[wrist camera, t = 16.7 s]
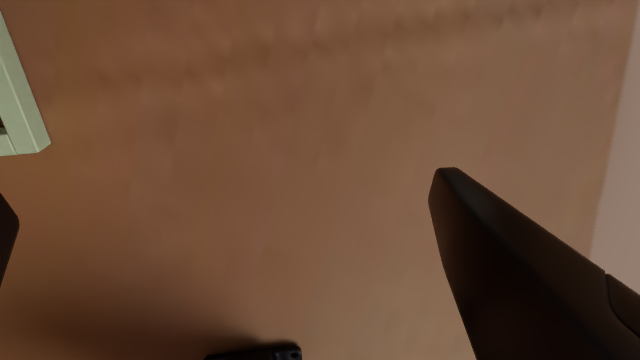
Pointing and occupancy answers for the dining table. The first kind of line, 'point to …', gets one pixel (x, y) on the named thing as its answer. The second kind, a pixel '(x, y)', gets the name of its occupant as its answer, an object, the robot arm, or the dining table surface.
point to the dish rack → (17, 104)
